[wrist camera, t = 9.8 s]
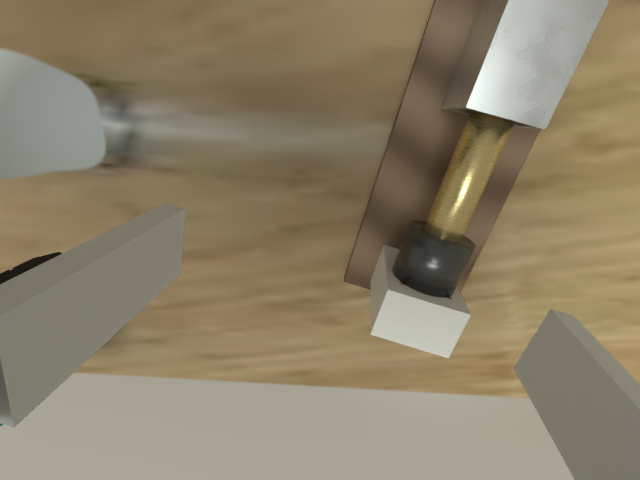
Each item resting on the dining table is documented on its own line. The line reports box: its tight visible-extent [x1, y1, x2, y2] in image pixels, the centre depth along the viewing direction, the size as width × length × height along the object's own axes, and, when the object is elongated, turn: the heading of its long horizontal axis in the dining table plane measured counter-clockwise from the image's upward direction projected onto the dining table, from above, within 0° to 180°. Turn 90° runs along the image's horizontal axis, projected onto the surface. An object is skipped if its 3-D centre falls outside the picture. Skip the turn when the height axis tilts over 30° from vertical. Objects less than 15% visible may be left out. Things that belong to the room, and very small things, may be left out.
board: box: [344, 0, 540, 292], centre depth 29 cm, size 27×11×1 cm, turn 166°
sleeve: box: [441, 0, 609, 129], centre depth 22 cm, size 9×5×8 cm, turn 165°
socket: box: [370, 245, 471, 358], centre depth 29 cm, size 4×6×10 cm, turn 76°
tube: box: [392, 110, 515, 298], centre depth 24 cm, size 19×5×5 cm, turn 165°
